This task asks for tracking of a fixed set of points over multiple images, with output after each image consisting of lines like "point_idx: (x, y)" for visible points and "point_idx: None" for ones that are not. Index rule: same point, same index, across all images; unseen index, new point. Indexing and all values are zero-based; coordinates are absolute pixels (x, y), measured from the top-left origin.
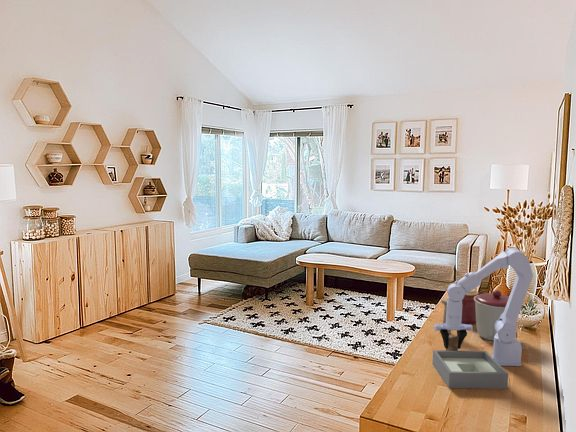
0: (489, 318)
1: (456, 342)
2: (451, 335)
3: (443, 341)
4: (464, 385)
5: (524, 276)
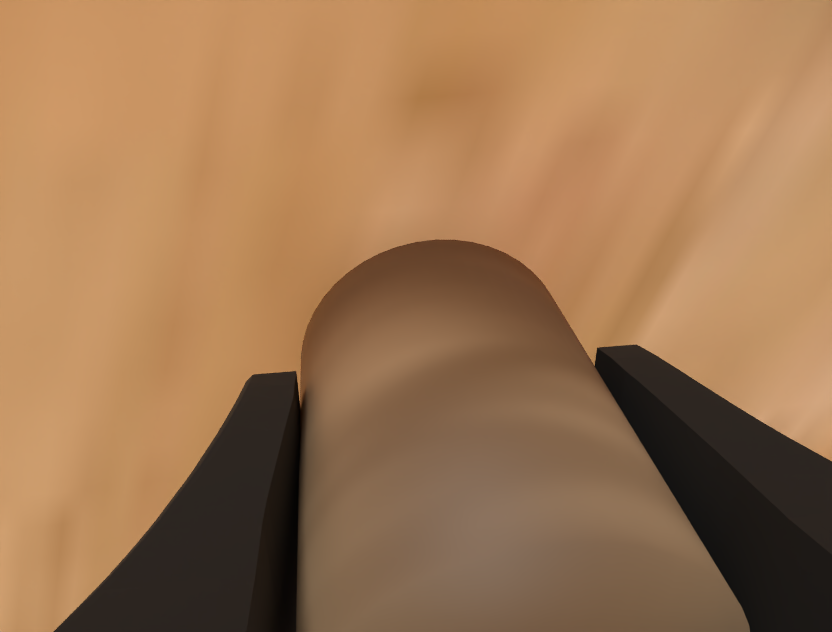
0: None
1: None
2: (531, 625)
3: (207, 466)
4: None
5: None
